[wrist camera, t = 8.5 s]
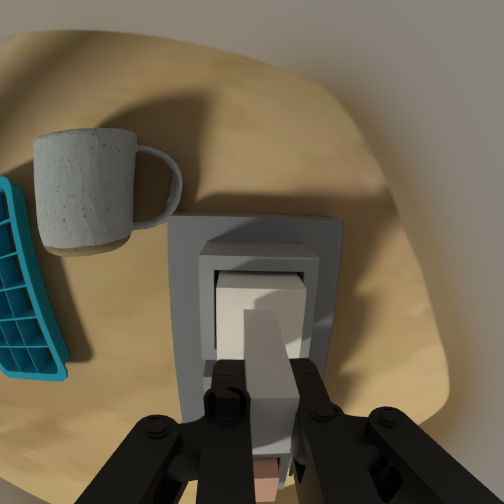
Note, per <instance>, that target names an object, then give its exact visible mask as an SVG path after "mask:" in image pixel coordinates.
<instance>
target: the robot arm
mask: <svg viewBox="0 0 504 504" xmlns="http://www.w3.org/2000/svg"><path fill="white" fill-rule="evenodd" d="M203 400H204V413H205V415H204V416H202V417H201V418H200V419H197V420H195V421H192V422H188V423H181V424H178V423H177V422H176V421H175V420H174V419H172V418H170V417H168V416H165V415H149V416H147V417H144V418H142V419H141V420H140V421H138V422H137V423H136V425H135V426H134V427H133V429H132V430H131V431H130V432H129V434H128V435H127V436H126V438H125V439H124V440H123V442H122V443H121V444H120V445H119V447H118V448H117V449H116V451H115V452H114V453H113V454H112V456H111V457H110V458H109V460H108V461H107V462H106V463H105V465H104V466H103V467H102V469H101V470H100V471H99V472H98V474H97V475H96V476H95V478H94V479H93V480H92V481H91V483H90V484H89V485H88V486H87V488H86V489H85V490H84V492H83V493H82V494H81V495H80V497H79V498H78V499H77V500H76V502H75V503H74V504H178V503H179V501H180V499H181V497H182V494H183V492H184V490H185V488H186V486H187V484H188V481H193V480H198V485H197V495H196V504H256V496H255V482H254V468H253V454H276V453H290V448H291V446H292V451H293V457H292V462H291V466H290V470H289V476H292V474H293V475H294V480H295V485H296V491H297V495H298V501H299V504H504V502H502V501H501V500H500V499H499V498H498V497H497V496H495V494H493V493H492V492H491V491H490V490H489V489H488V488H487V487H485V486H484V485H483V484H482V483H481V482H480V481H479V480H478V479H476V478H475V477H474V476H473V475H472V474H471V473H470V472H469V471H467V470H466V469H465V468H464V467H463V466H462V465H461V464H460V463H458V462H457V461H456V460H455V459H454V458H453V457H452V456H451V455H450V454H448V453H447V452H446V451H445V450H444V449H443V448H442V447H441V446H440V445H438V444H437V443H436V442H435V441H434V440H433V439H432V438H431V437H430V436H429V435H428V434H426V433H425V432H424V431H423V430H422V429H421V428H420V427H419V426H418V425H417V424H416V423H414V422H413V421H412V420H411V419H410V418H409V417H408V416H407V415H406V414H405V413H403V412H402V411H400V410H399V409H397V408H393V407H385V406H384V407H379V408H376V409H374V410H373V411H372V412H371V413H370V415H369V417H359V416H351V415H346V414H344V412H343V411H342V410H341V408H340V407H339V406H337V405H335V404H334V403H331V401H330V398H329V396H328V393H327V391H326V388H325V386H324V384H323V381H322V380H321V376H320V374H319V372H318V369H317V367H316V364H314V363H313V362H312V361H311V360H310V359H309V358H288V354H287V351H286V347H285V344H284V340H283V337H282V333H281V330H280V326H279V323H278V319H277V316H276V313H275V309H243V344H242V360H237V359H219V360H218V361H217V362H216V363H215V365H214V366H213V372H212V380H211V388H210V389H208V390H207V391H206V392H205V394H204V396H203Z"/></svg>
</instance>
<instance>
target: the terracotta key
mask: <svg viewBox="0 0 504 504" xmlns="http://www.w3.org/2000/svg"><path fill="white" fill-rule="evenodd" d="M253 468H254V482H255V496H256V502H268V501H275V497H276V492H277V488H278V483H279V471H278V463H277V458H253Z"/></svg>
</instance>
